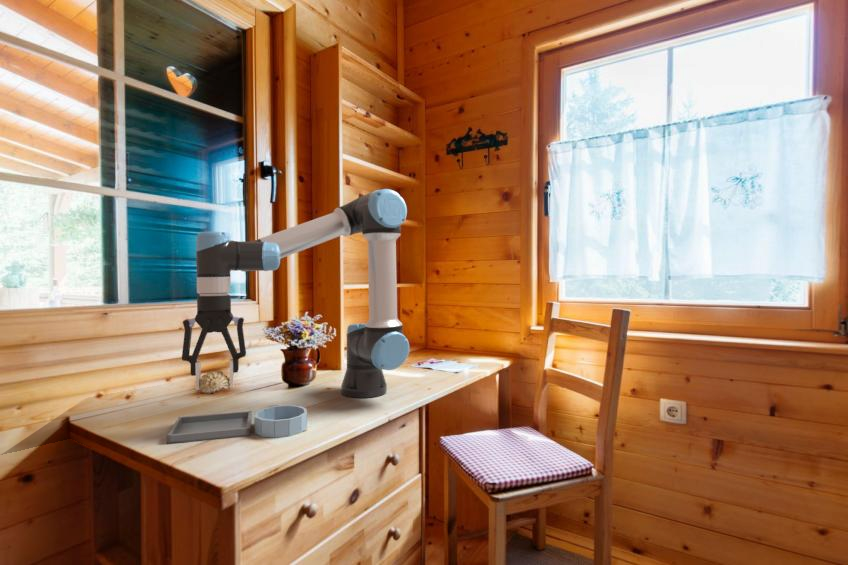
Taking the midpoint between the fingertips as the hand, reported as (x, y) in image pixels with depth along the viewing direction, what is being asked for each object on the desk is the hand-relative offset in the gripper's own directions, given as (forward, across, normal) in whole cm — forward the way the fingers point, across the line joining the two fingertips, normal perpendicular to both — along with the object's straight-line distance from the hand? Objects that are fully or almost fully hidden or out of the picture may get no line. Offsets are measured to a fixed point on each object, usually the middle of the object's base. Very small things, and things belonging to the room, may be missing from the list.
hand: (215, 386), depth 108 cm
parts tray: (+11, +1, 0) cm, 11 cm away
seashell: (+1, 0, 0) cm, 2 cm away
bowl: (+11, -15, +4) cm, 19 cm away
